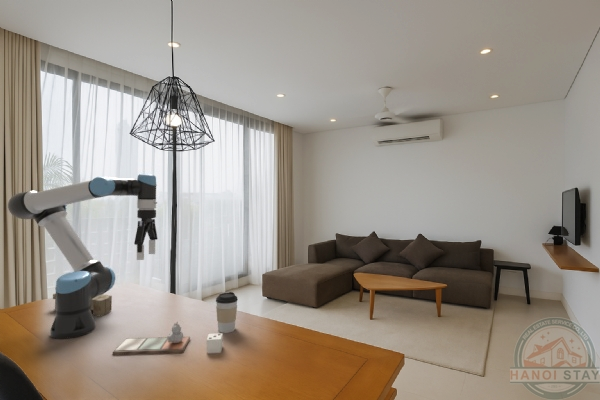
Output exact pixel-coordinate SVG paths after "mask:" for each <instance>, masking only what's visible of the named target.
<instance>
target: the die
mask: <svg viewBox="0 0 600 400" xmlns="http://www.w3.org/2000/svg"><path fill="white" fill-rule="evenodd" d="M223 334H224V333H222V332H219V333H208V335H207V337H206V354H221V353H222V349H223V340H224V339H223V336H224V335H223Z"/></svg>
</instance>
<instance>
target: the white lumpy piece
mask: <svg viewBox="0 0 600 400" xmlns="http://www.w3.org/2000/svg"><path fill="white" fill-rule="evenodd" d="M183 337H184V332H182V327H181V325H180V324H179V323H178V321H176V323H174V324H173V325H172V326H171V332H170V333H169V334H168V335H167V338H168V342H169V343H171V342H172V343H179V342H181V341H182V340H183Z"/></svg>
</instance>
